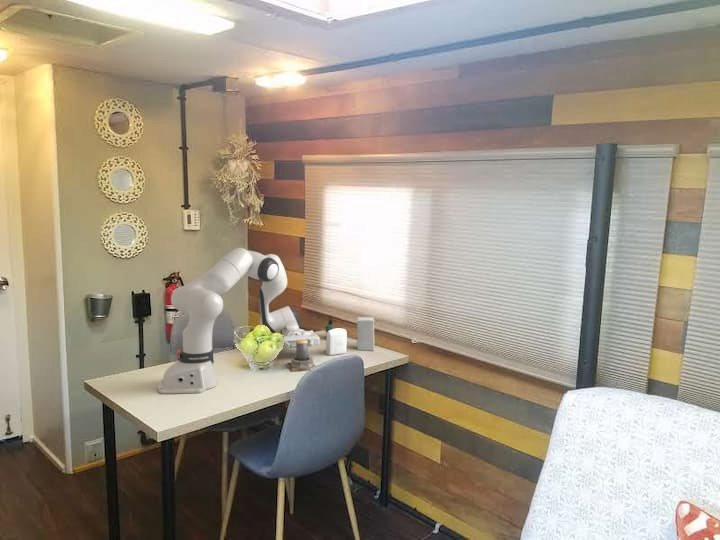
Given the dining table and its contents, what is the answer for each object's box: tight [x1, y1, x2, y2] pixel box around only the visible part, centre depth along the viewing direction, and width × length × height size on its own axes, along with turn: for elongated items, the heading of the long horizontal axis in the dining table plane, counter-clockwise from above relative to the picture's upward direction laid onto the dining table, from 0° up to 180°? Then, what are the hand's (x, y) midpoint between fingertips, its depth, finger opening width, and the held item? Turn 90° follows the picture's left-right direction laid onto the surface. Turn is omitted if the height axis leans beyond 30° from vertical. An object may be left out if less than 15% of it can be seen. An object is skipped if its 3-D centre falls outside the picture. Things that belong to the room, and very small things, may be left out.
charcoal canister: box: [295, 340, 309, 361], centre depth 240 cm, size 5×5×11 cm
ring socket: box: [286, 355, 316, 373], centre depth 240 cm, size 11×11×4 cm
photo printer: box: [325, 327, 348, 356], centre depth 261 cm, size 10×4×12 cm, turn 123°
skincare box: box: [356, 316, 376, 351], centre depth 269 cm, size 8×7×16 cm
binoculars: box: [324, 317, 335, 340], centre depth 288 cm, size 9×11×10 cm
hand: (300, 345), depth 244 cm, fingers open, 8 cm apart
